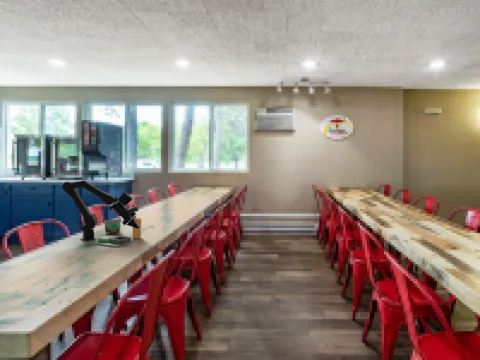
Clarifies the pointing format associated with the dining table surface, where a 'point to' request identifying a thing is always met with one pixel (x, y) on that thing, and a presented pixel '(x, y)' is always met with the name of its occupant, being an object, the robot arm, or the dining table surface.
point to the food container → (112, 226)
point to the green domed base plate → (113, 241)
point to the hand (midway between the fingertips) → (139, 227)
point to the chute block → (137, 231)
